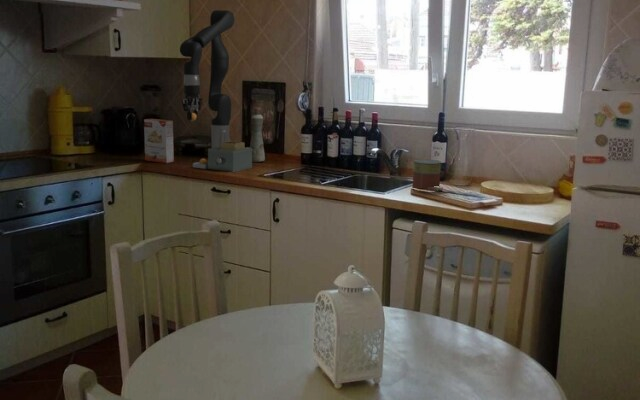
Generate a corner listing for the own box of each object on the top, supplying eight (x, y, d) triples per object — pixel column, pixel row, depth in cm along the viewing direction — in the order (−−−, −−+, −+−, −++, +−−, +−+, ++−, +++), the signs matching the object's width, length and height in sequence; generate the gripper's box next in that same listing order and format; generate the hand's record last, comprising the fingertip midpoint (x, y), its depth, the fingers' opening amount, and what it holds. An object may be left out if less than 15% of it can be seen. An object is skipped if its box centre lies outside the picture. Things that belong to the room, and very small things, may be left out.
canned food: (436, 187, 282) (438, 159, 279) (441, 192, 271) (443, 163, 268) (410, 187, 281) (411, 159, 279) (414, 192, 270) (416, 163, 268)
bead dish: (201, 166, 319) (201, 161, 318) (213, 167, 316) (213, 162, 315) (192, 168, 313) (192, 163, 312) (205, 169, 310) (204, 164, 309)
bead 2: (202, 166, 317) (202, 157, 316) (209, 166, 315) (209, 158, 314) (197, 167, 313) (197, 158, 312) (204, 167, 312) (204, 159, 311)
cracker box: (144, 160, 331) (143, 119, 327) (152, 159, 337) (151, 118, 332) (166, 163, 325) (165, 120, 321) (174, 162, 330) (173, 120, 326)
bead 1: (191, 120, 326) (191, 112, 325) (198, 120, 324) (198, 112, 324) (186, 120, 323) (186, 112, 322) (193, 121, 321) (193, 113, 320)
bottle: (257, 163, 333) (257, 107, 328) (244, 161, 339) (244, 106, 333) (268, 161, 340) (269, 107, 334) (255, 159, 345) (256, 105, 340)
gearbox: (227, 165, 324) (227, 140, 321) (252, 168, 317) (252, 142, 315) (205, 170, 308) (205, 143, 305) (230, 173, 302) (230, 146, 299)
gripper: (194, 83, 328) (195, 118, 331) (176, 84, 315) (177, 120, 319) (206, 84, 324) (207, 119, 328) (188, 84, 312) (189, 121, 316)
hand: (192, 119), depth 323 cm, fingers closed on bead 1, 4 cm apart
